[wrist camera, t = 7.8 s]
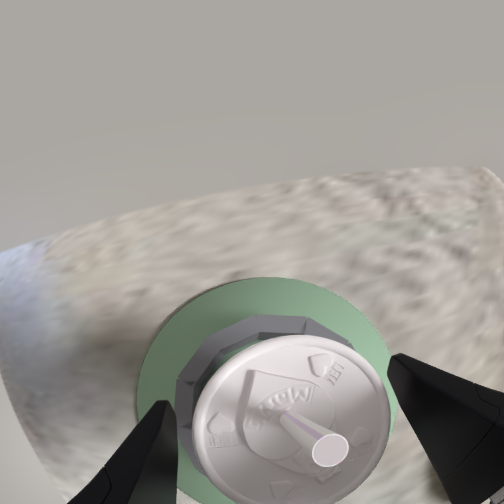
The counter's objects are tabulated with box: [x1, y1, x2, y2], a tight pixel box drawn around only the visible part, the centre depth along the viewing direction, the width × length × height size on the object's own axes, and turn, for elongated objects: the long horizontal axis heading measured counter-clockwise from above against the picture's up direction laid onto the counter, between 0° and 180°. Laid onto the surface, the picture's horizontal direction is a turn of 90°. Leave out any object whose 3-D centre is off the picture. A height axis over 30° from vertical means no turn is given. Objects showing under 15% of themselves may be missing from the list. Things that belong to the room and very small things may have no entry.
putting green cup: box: [137, 278, 397, 504], centre depth 14 cm, size 18×18×3 cm
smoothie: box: [192, 335, 391, 504], centre depth 9 cm, size 6×6×14 cm
